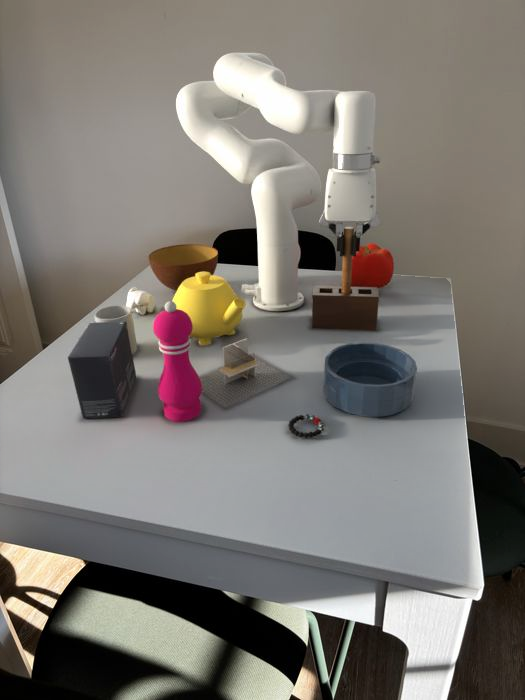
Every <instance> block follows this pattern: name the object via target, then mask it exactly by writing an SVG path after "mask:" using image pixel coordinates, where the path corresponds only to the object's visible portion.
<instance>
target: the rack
mask: <svg viewBox="0 0 525 700" xmlns="http://www.w3.org/2000/svg"><path fill="white" fill-rule="evenodd" d="M341 287H342V286H339V285H338V286H336V285H335V286H334V285H331V286H330V285H313V288H312V296H311V297H312V300H311V301H312V303H311V329H312V330H335V331H336V330H339V331H340V330H341V331H364V332H365V331H366V332H370V331H371V332H377V325H378V315H379V314H378V313H379V303H380V302H379V301H380V294H379V289H378V288H377V287H351V294H341Z"/></svg>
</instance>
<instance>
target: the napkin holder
mask: <svg viewBox="0 0 525 700" xmlns="http://www.w3.org/2000/svg"><path fill="white" fill-rule="evenodd" d="M257 359H258V358H257V357H256V356H255V352H253V353H249V340H248V338H247V337H246V338H244V339H241V340H238V341H236V342H233V343H230V344H227V345H225V346H223V347H222V360H223V366H222V367H219V368H218V371H219V372H221V373H223V376H224V383H225V384H227V383H230V382H232V381H234V380H237V379H239V378H241V377H243V378H245V379H247V380H248V379H249V374H250V375H252V376H253V377H256V376H257V375H256V367H257V366H259V365H260V362H259V361H257Z"/></svg>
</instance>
